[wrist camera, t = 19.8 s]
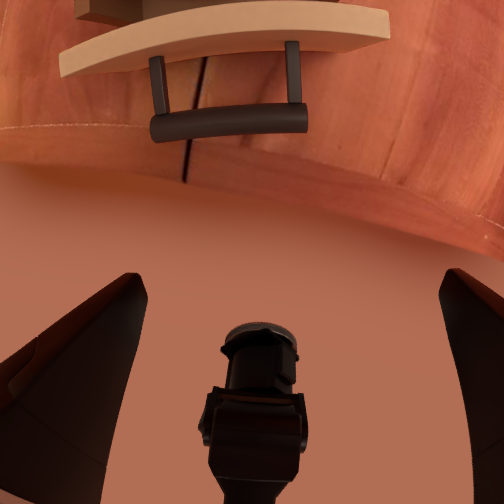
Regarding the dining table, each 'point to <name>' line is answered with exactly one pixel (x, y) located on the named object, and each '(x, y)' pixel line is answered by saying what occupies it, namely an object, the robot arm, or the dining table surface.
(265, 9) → the drawer
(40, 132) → the dining table surface
